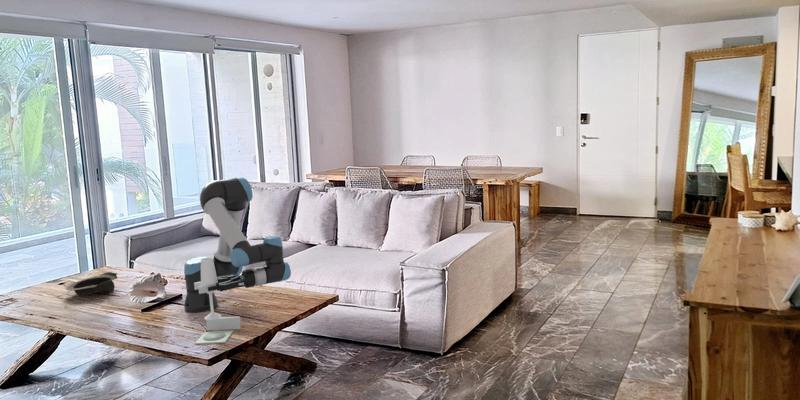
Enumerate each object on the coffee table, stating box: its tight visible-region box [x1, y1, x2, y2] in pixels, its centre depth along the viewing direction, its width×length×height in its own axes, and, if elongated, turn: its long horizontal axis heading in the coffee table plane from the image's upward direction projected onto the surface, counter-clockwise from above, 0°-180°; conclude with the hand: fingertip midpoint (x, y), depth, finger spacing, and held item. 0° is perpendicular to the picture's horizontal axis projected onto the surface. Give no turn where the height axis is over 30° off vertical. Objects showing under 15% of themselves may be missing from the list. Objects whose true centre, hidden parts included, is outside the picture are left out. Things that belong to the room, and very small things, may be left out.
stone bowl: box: [65, 271, 118, 297], centre depth 321 cm, size 25×25×9 cm
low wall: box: [205, 316, 242, 332], centre depth 256 cm, size 14×2×5 cm, turn 90°
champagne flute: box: [201, 257, 222, 321], centre depth 244 cm, size 7×7×24 cm
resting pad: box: [194, 330, 234, 346], centre depth 247 cm, size 12×12×1 cm
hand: (196, 288), depth 241 cm, fingers closed on champagne flute, 7 cm apart
